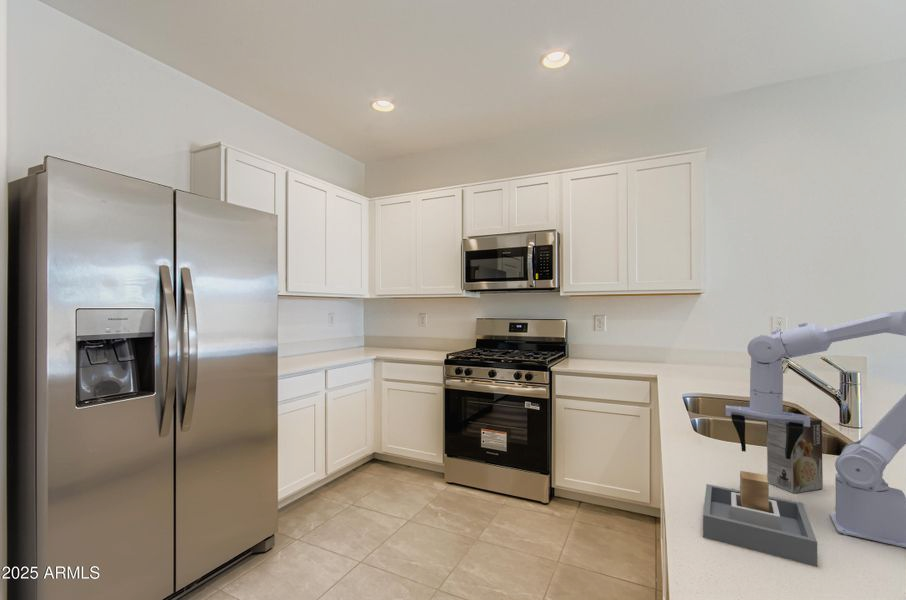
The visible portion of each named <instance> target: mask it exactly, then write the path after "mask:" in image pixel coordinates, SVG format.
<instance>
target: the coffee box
mask: <svg viewBox="0 0 906 600" xmlns="http://www.w3.org/2000/svg"><path fill="white" fill-rule="evenodd" d="M809 417H810V416H809ZM822 421H823V420H822V419H819V418H814V417H810V427H806V426H803V428H804V431H803V433H802V434H801V436H800V437H799V439H798V440H797V442H796V444H795V446H794V448H793V451H792V454H791V459H786V457H785V447H786V423H782V422H775V421H767V420H766V451H767V452H766V454H767V455H766V458H767V459H766V460H767V461H766V463H767V468H766V469H767V471H766V472H767V476H766V478H767V480H768V482H769V485H772V486H775V487H777V488H780V489H783V490H785V491H787V492H789V493H792V494H799V493H804V492H810V491H815V490H822V489H823V488H824V487H823V486H824V485H823V483H824V482H823V477H824V476H823V475H824V474H823V432H822V430H823V427H822V425H823V424H822Z"/></svg>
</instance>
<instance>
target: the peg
mask: <svg viewBox="0 0 906 600" xmlns="http://www.w3.org/2000/svg"><path fill="white" fill-rule="evenodd" d="M739 471H740V472H739V488H740V489H739V490H740V506H741V507H745V508H750V509H754V510H759V511H764V512H768V513H769V494H770V493H769V489H770V488H769V485H770V483H769V482H768V478H767V476H766V474H763V473H757V472H756V473H755V472H750V471H743V470H739Z"/></svg>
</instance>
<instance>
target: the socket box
mask: <svg viewBox="0 0 906 600" xmlns="http://www.w3.org/2000/svg"><path fill="white" fill-rule="evenodd" d="M702 517H703V518H702V537H703V538H706V539H709V540H713V541H717V542H720V543H725V544H728V545H732V546H736V547H740V548H744V549H748V550H752V551H755V552H760V553H763V554H766V555H767V554H768V555H770V556H771V555H772V556H774V557H779V558H783V559H787V560H789V561H790V560H792V561H794V562H798V563H801V564H802V563H803V564H805V565H810V566H814V567H818V540H817V538H816V535H815V532H814V530H813V526H812V524H811V522H810V520H809V519H810V518H809V517H808V515H807V511H806V509H805V507H804V504H803V502H800V501H799V502H798V501H793V500H790V499H784V498H780V497H773V496H769V513H768V512H764V511H759V510H754V509H750V508H745V507H741V506H740V489H739V490H738V489H734V488H729V487H725V486H724V487H723V486H719V485H713V484H708V483H706V486H705V495H704V504H703V513H702Z"/></svg>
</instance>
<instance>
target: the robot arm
mask: <svg viewBox="0 0 906 600" xmlns="http://www.w3.org/2000/svg"><path fill="white" fill-rule="evenodd" d="M797 325H798V326H797V327H793V328H789V329H785V330H781V331H779V329H777V330H776V329H774V330H772V331H771V334H762V335H761V334H760V335H759V336H755V337H753V338H752V339H751V340H750V341H749V342H748V344H747V353H748V355H749V357H750V369H749V372H750V375H749V376H750V377H749V406H735V405H725V416H726V417H730V418H731V422H732V423H733V426H734V429H735V431H736V432H737V435H738V439H739V443H740V445H741V452H745V453H746V452H747V447H746V419H753V420H762V421H766V422H767V421H775V422H782V423H786V447H785V457H786V459H791V454H792V451H793V448H794V446H795V444H796V442H797V440H798V439H799V437H800V436H801V434H802V433H803V431H804V428H803V426H806V427H810V416H809V415H806V414H800V413H793V412H788V411H783V408H784V405H783V404H784V403H783V402H784V393H783V392H784V370H783V358H788V359H791V358H797V357H801V356H802V357H804V356H808V355H812V354H818V353H821V352H822V353H823V352H827V351H828V350H829V349H830V346H831V345H832V343H836V342H842V341H848V340H852V339H857V338H858V339H859V338H863V337H869V336H873V335H879V334H885V333H886V334H892V335H898V336H904V337H906V309H904V310H903V309H902V310H895V311H887V312H884V313H883V312H882V313H879V314H875V315H871V316H867V317H864V318H860V319H855V320H852V321H848V322H844V323H839V324H836V325H831V326H827V327H826V326H822V325H820V324H817V323H815V322H814V323H813V322H812V323H809V324H808V323H807V322H806V321H805V322H801V323H798V324H797ZM905 446H906V393H905V394H904V395H903V396H902V397H901V398H900V399H899V400H898V401H897V402H896V403H895V404H894V405H893V406H892V407H891V409H889V410H888V412H886V413H885V415H884V416H883V417H882V418H881V419H879V421H878V422H876V424H875V425H874V426H873V427H872V428H871V429H870V430H869V431H868V432H867V433H866V434H864V435H863V436H862V438H860V439H859V440H856V441H853V442H849V443H847V444H846V445H845V446H844V447H843V448H842V450H841V454H839V455H838V457H836V459H835V461H834V463H835V464H834V466H835V470H836V472H837V473H836V474H835V475H834V476H835V479H834V481H835V482H834V483H835V513H833V512H830V513H829V517H830V519H831V522H832V523H833V525H834V527H835V529H836V531H837V532H838V533H839V534H843V535H849V536H852V537H856V538H860V539H865V540H871V541H876V542H880V543H884V544H888V545H893V546H897V547H901V548H902V547H903V548H906V494H905V493H904V491H903V490H902V489H899V488H894V487H891V486H889V484H888V482H886V481H885V480H884V478H883V477H884V471H885V470H886V467H887V466H888V465H889V464H890V462H891V461H892V460H893V458H895V456H896V455H897V454H898V452H900V450H901V449H902V448H903V447H905Z"/></svg>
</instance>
